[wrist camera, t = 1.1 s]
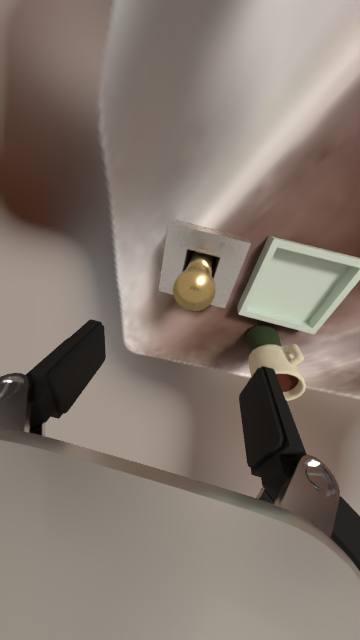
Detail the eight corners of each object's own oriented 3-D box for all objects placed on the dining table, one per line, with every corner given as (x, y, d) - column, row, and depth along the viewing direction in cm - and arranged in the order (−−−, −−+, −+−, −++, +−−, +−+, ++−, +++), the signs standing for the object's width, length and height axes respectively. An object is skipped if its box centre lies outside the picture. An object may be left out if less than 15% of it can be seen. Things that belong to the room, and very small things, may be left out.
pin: (192, 242, 29) (177, 266, 18) (218, 249, 29) (221, 277, 18) (186, 269, 32) (169, 304, 20) (210, 275, 32) (208, 315, 20)
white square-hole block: (176, 220, 28) (168, 222, 23) (244, 236, 28) (251, 243, 23) (166, 278, 34) (158, 290, 29) (223, 293, 33) (224, 308, 28)
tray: (268, 235, 27) (274, 238, 25) (358, 257, 27) (373, 262, 24) (236, 306, 34) (238, 314, 32) (307, 325, 34) (314, 334, 31)
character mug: (257, 357, 40) (272, 412, 30) (231, 344, 40) (236, 395, 29) (294, 324, 34) (331, 378, 24) (264, 308, 34) (288, 355, 23)
